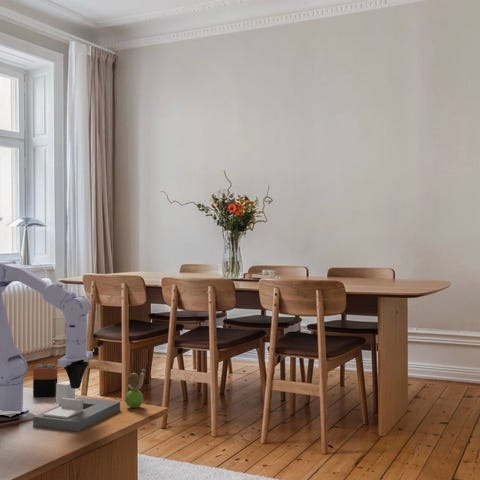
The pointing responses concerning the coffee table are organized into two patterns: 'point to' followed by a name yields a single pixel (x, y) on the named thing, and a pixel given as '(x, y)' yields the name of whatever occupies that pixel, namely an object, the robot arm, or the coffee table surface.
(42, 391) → the battery
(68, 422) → the socket plate
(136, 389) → the snail figurine
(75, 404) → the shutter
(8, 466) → the coffee table surface
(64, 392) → the plug
